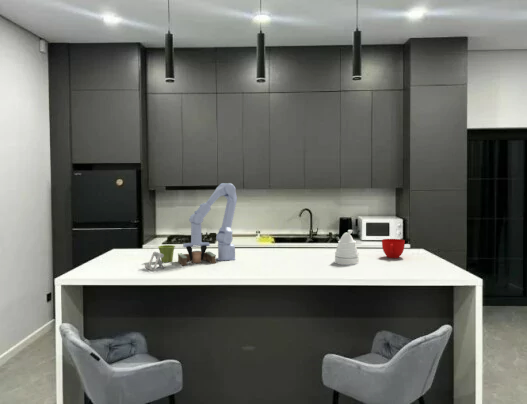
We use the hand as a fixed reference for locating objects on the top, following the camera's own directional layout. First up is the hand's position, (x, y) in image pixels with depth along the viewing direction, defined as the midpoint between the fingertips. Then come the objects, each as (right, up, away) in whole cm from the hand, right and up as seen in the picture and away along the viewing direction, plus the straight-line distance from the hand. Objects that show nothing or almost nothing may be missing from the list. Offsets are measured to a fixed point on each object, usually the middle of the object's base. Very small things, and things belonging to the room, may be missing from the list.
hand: (196, 259), depth 252 cm
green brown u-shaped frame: (0, -2, -1) cm, 2 cm away
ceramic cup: (+113, -1, +13) cm, 114 cm away
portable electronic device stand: (-19, -3, -18) cm, 26 cm away
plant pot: (-17, -2, +3) cm, 18 cm away
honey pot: (+83, -2, -2) cm, 83 cm away
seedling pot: (0, -2, 0) cm, 2 cm away
